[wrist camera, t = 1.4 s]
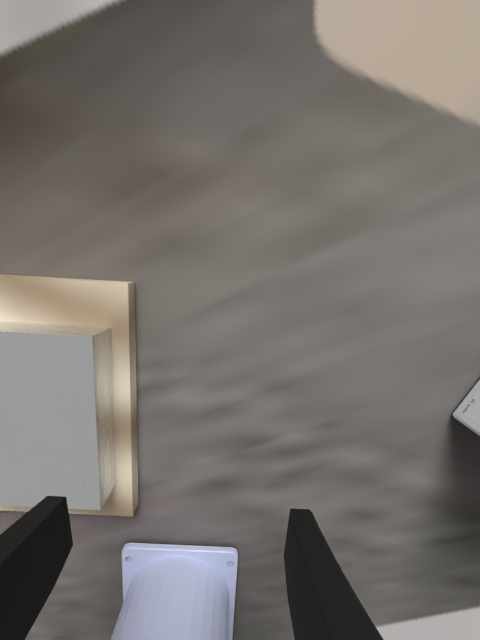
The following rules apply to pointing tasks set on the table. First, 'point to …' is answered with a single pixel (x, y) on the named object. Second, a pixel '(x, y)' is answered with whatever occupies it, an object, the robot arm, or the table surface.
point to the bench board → (118, 313)
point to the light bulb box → (470, 410)
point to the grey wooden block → (56, 414)
